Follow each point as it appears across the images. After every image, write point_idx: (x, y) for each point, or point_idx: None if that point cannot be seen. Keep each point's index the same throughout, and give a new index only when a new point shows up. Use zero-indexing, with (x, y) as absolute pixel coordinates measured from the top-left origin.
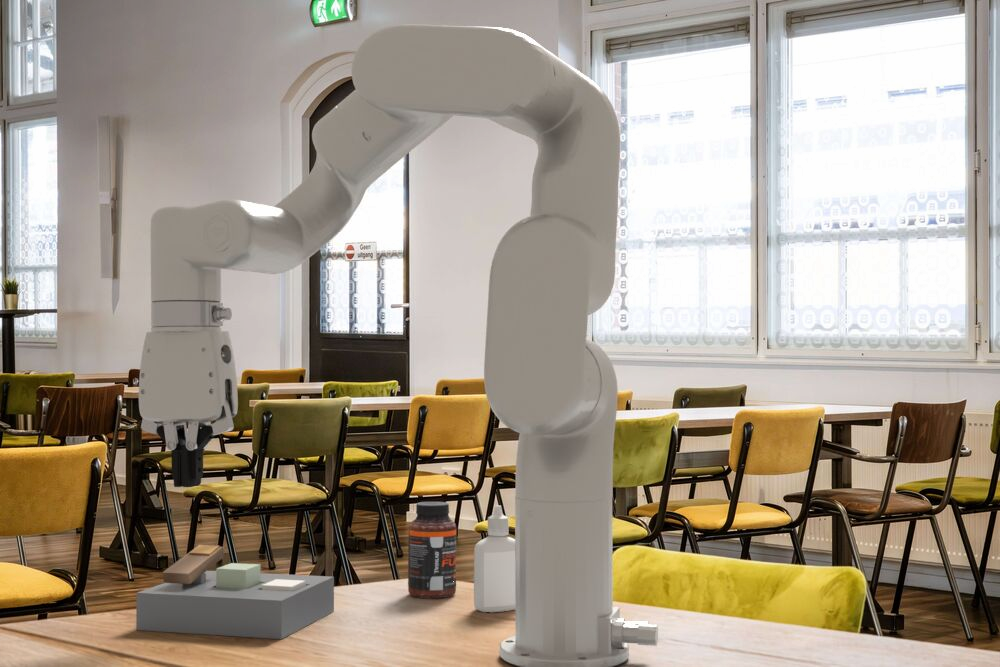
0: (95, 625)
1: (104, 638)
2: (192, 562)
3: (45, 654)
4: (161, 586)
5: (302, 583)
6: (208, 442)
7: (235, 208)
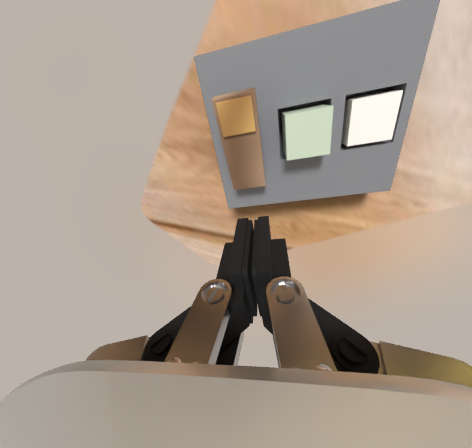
0: (191, 192)
1: (229, 220)
2: (248, 158)
3: None
4: (228, 177)
5: (398, 102)
6: (318, 306)
7: None
